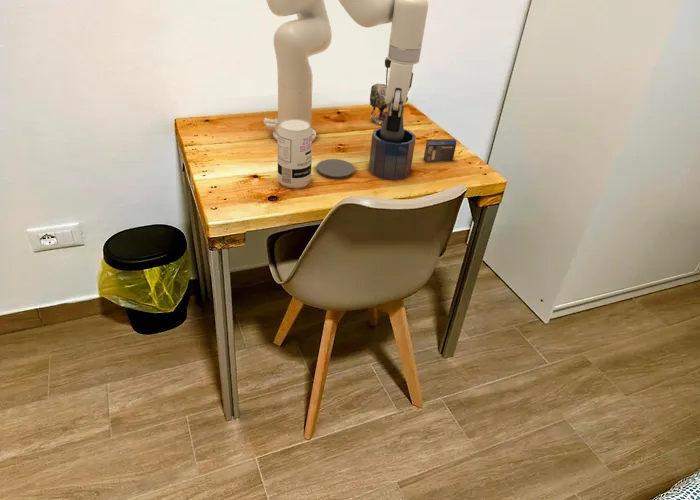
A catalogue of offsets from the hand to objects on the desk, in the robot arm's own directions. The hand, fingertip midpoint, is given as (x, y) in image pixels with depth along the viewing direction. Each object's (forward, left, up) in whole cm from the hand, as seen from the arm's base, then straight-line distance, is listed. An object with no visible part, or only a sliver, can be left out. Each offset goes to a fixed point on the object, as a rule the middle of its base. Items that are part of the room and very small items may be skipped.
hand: (393, 125), depth 133 cm
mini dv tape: (+14, +10, -13) cm, 21 cm away
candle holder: (0, 0, -12) cm, 12 cm away
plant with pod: (-4, +34, -13) cm, 36 cm away
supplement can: (-22, -13, -13) cm, 29 cm away
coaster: (-13, -4, -12) cm, 19 cm away
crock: (+1, 0, -12) cm, 12 cm away
